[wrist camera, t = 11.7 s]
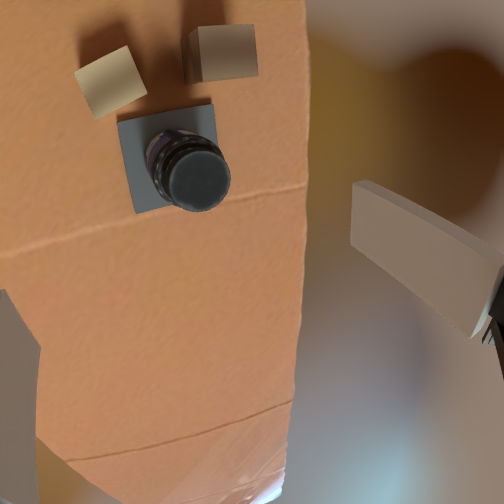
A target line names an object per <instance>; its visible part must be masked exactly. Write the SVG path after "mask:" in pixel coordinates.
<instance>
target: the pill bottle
mask: <svg viewBox="0 0 504 504" xmlns="http://www.w3.org/2000/svg"><path fill="white" fill-rule="evenodd" d="M145 166H146V169H147V172H148V173H149V175H150V177H151V179H152V181H153V183H154V185H155V187H156V190H157V191H158V193H159V194H160V196H161V197H162V198H163V199H164V200H165V201H167V202H168V203H170V204H172V205H174V206H178V207H180V208H183V209H185V210H188V211H191V212H202V211H207V210H210V209H211V208H213V207H215V206H216V205H218V204H219V203H220V202H221V201H222V200H223V199H224V197H225V196H226V194H227V192H228V189H229V186H230V180H231V176H230V170H229V168H228V165H227V163H226V162H225V160H224V157H223V155H222V152H221V151H220V149H219V148H218V147H217V146H216V145H215V144H214V143H213V142H212V141H210V140H209V139H207V138H204V137H202V136H200V135H197V134H195V133H192V132H190V131H187V130H185V129H180V128H173V129H167V130H164V131H162V132H160V133H158V134H157V135H156V136H155V137H154V138H153V139H152V140H151V141H150V143H149V145H148V147H147V149H146V151H145Z"/></svg>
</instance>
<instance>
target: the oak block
mask: <svg viewBox="0 0 504 504" xmlns="http://www.w3.org/2000/svg"><path fill="white" fill-rule="evenodd" d="M74 74H75V76H76V79H77V81H78V83H79V86H80V88H81V90H82V92H83V94H84V97H85V99H86V101H87V103H88V105H89V107H90V110H91V112H92V114H93V116H94V118H95V120H98V119H100V118H101V117H103V116H105V115H107V114H109V113H111V112H112V111H114V110H116V109H118V108H120V107H122V106H124V105H126V104H128V103H130V102H132V101H134V100H136V99H138V98H140V97H142V96H144V95H146V94H148V93H147V91H146V88H145V86H144V84H143V82H142V79H141V77H140V75H139V72H138V70H137V68H136V65H135V63H134V61H133V58H132V56H131V54H130V51H129V49H128V46H124V47H122V48H120V49H118V50H116V51H114V52H112V53H110V54H108V55H105V56H103V57H102V58H100V59H98V60H96V61H94V62H92V63H90V64H88V65H86V66H84V67H83V68H81V69H79V70H77V71H75V72H74Z"/></svg>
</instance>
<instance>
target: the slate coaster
mask: <svg viewBox="0 0 504 504" xmlns="http://www.w3.org/2000/svg"><path fill="white" fill-rule="evenodd" d="M117 125H118V131H119V137H120V142H121V148H122V153H123V158H124V163H125V168H126V173H127V178H128V182H129V187H130V191H131V196H132V200H133V204H134V208H135V213H136V214H139V213H142V212H146V211H150V210H153V209H157V208H161V207H165V206H169V205H172V204H170V203H168V202H167V201H165V200H164V199H163V198H162V197H161V196H160V194H159V193H158V191H157V190H156V187H155V185H154V183H153V181H152V179H151V177H150V175H149V173H148V172H147V169H146V166H145V151H146V149H147V147H148V145H149V143H150V141H151V140H152V139H153V138H154V137H155V136H156V135H157V134H158V133H160V132H162V131H164V130H167V129H173V128H180V129H185V130H187V131H190V132H192V133H195V134H197V135H200V136H202V137H204V138H207V139H209V140H210V141H212V142H213V143H214V144H215V145H216V146H217V147H218V141H217V132H216V123H215V114H214V105H213V104H207V105H200V106H194V107H188V108H182V109H176V110H171V111H166V112H160V113H155V114H151V115H146V116H141V117H137V118H133V119H128V120H124V121H120V122H117Z"/></svg>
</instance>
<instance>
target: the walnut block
mask: <svg viewBox="0 0 504 504" xmlns="http://www.w3.org/2000/svg"><path fill="white" fill-rule="evenodd" d="M181 47H182V57H183V66H184V75H185V84H186V85H188V84H195V83H202V82H210V81H219V80H228V79H237V78H245V77H254V76H258V64H257V53H256V41H255V30H254V24H245V25H214V26H199V27H197V28H195V29H194V30H193V31H192V32H190V33H189V34H188V35H187V36H186V37H185V38H183V39H182V40H181Z"/></svg>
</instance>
